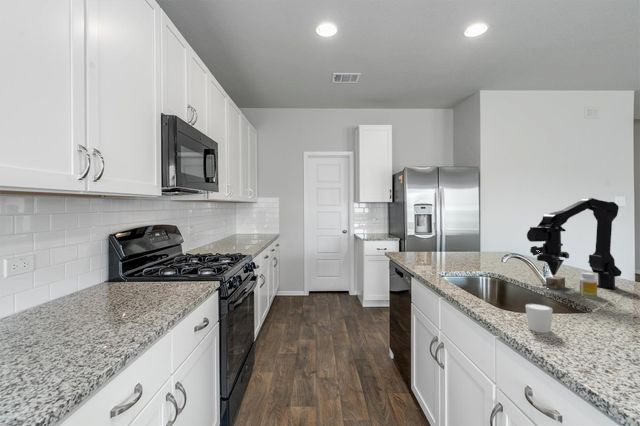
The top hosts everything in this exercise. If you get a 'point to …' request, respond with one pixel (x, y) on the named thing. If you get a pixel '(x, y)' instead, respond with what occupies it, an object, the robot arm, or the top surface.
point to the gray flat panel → (555, 290)
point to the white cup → (539, 317)
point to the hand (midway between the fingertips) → (553, 274)
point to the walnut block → (555, 282)
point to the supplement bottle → (588, 285)
